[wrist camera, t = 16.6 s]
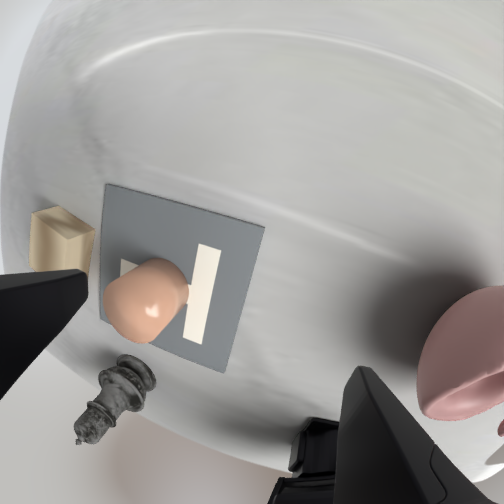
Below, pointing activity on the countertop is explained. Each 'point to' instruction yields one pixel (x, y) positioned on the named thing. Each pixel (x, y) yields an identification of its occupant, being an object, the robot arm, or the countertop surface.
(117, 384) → the salt shaker
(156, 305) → the terracotta cylinder
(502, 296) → the mortar and pestle
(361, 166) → the countertop surface
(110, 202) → the letter mat
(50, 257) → the maple block
